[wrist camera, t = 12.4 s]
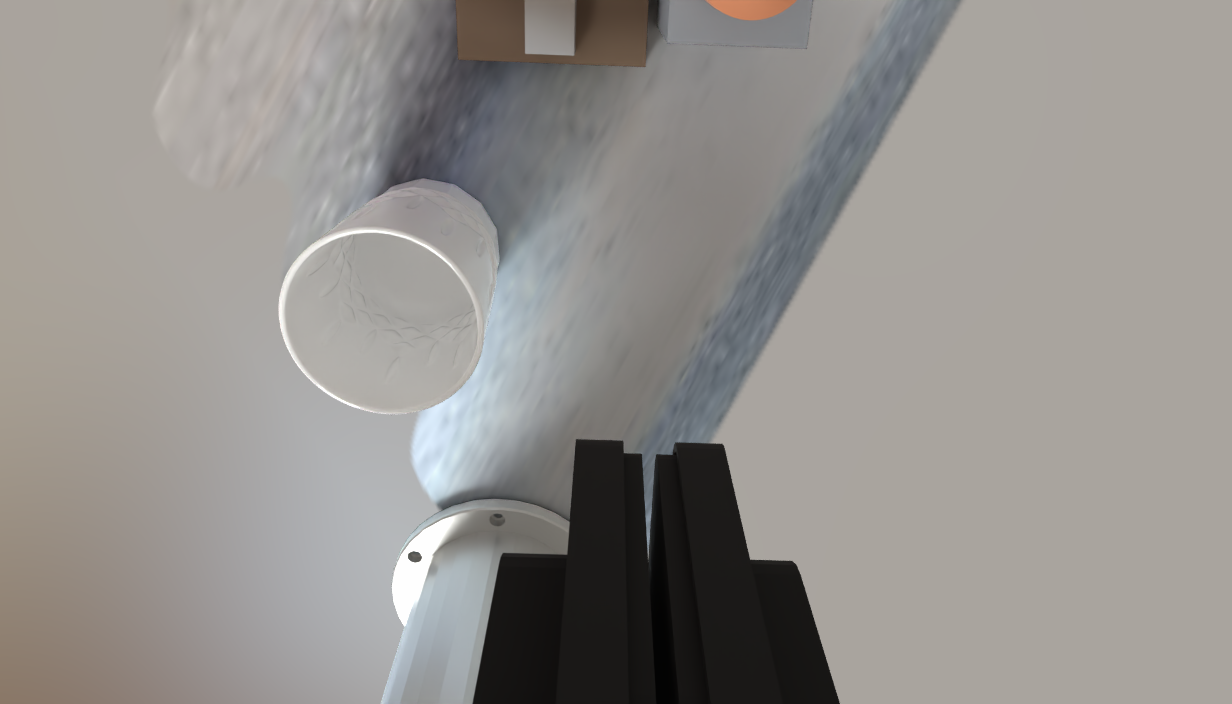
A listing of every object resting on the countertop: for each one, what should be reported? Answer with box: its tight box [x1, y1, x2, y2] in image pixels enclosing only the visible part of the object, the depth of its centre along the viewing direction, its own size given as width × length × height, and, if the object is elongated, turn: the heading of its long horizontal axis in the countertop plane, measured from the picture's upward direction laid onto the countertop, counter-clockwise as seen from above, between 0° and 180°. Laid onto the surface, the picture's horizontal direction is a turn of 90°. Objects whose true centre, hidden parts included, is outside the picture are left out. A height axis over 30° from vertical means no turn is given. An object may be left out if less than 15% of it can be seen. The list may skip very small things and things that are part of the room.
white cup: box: [279, 178, 500, 414], centre depth 37 cm, size 8×8×10 cm
